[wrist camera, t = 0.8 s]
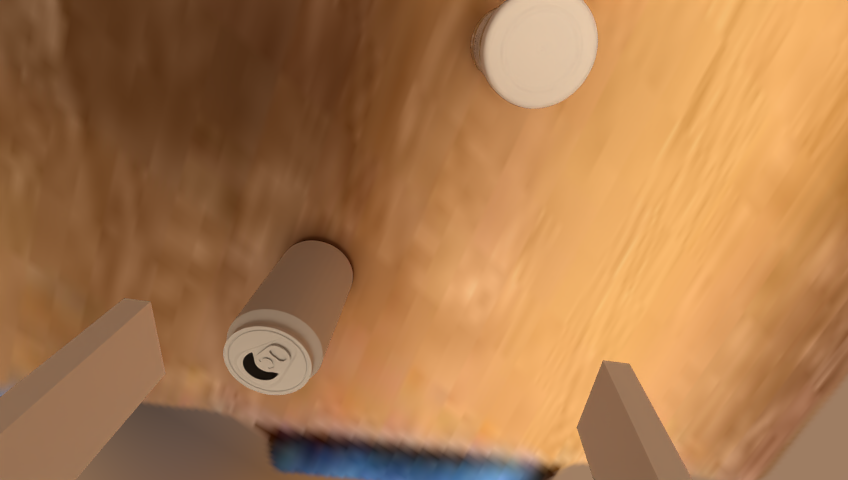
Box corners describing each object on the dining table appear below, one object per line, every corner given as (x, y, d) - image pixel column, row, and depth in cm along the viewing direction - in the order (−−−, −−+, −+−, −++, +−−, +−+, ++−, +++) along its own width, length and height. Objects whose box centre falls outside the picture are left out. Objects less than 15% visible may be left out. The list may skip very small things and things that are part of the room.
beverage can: (268, 264, 37) (196, 357, 27) (317, 222, 35) (259, 304, 25) (321, 310, 39) (272, 414, 29) (370, 272, 37) (337, 370, 26)
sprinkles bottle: (532, 79, 30) (590, 111, 17) (467, 79, 30) (479, 110, 18) (540, 5, 28) (611, -18, 15) (470, 5, 28) (486, -17, 16)
